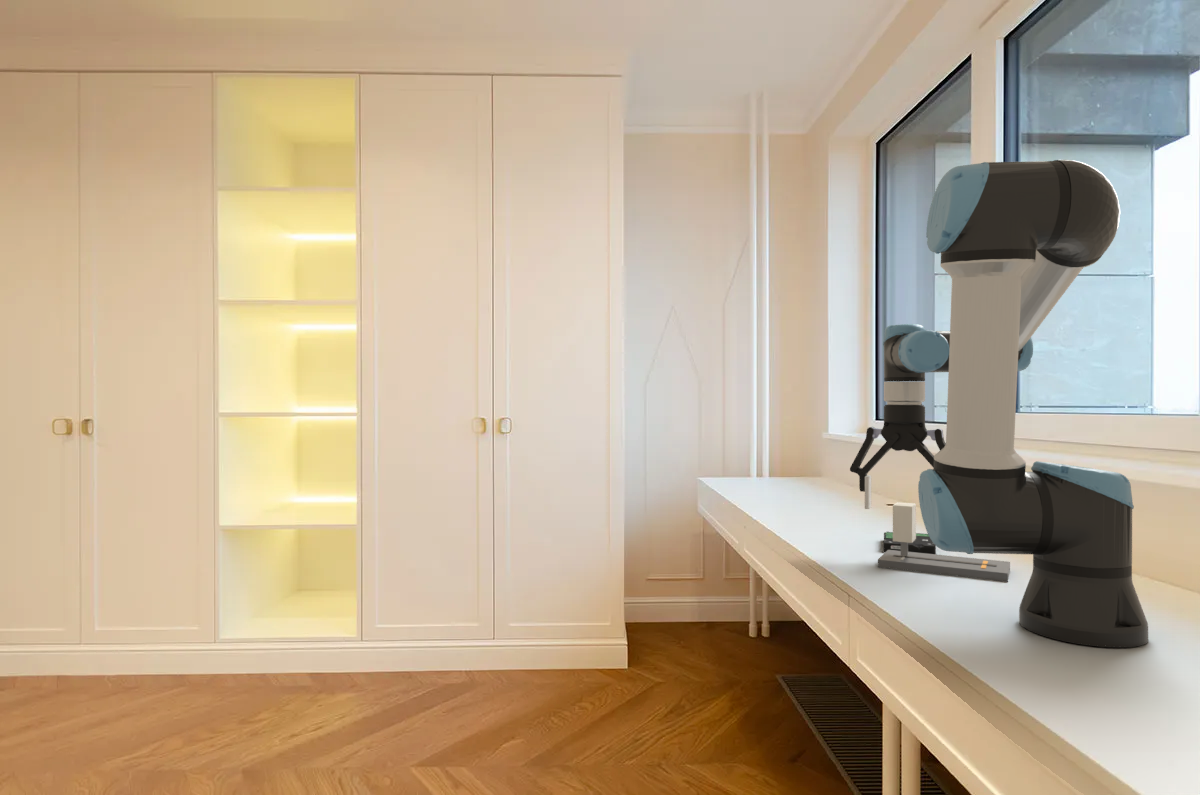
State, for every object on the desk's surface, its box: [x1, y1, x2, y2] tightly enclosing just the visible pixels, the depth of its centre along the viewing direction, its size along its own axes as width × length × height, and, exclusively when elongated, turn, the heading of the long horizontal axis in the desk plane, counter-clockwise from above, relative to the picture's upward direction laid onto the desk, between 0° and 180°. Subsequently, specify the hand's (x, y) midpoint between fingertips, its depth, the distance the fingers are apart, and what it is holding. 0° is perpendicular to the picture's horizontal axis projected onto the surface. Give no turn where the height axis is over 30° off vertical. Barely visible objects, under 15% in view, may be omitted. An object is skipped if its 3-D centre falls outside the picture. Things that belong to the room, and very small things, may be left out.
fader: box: [892, 501, 917, 556], centre depth 145 cm, size 5×4×10 cm
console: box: [877, 550, 1011, 583], centre depth 142 cm, size 11×22×2 cm, turn 59°
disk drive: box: [882, 531, 937, 554], centre depth 162 cm, size 10×3×15 cm
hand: (903, 511), depth 146 cm, fingers open, 13 cm apart
